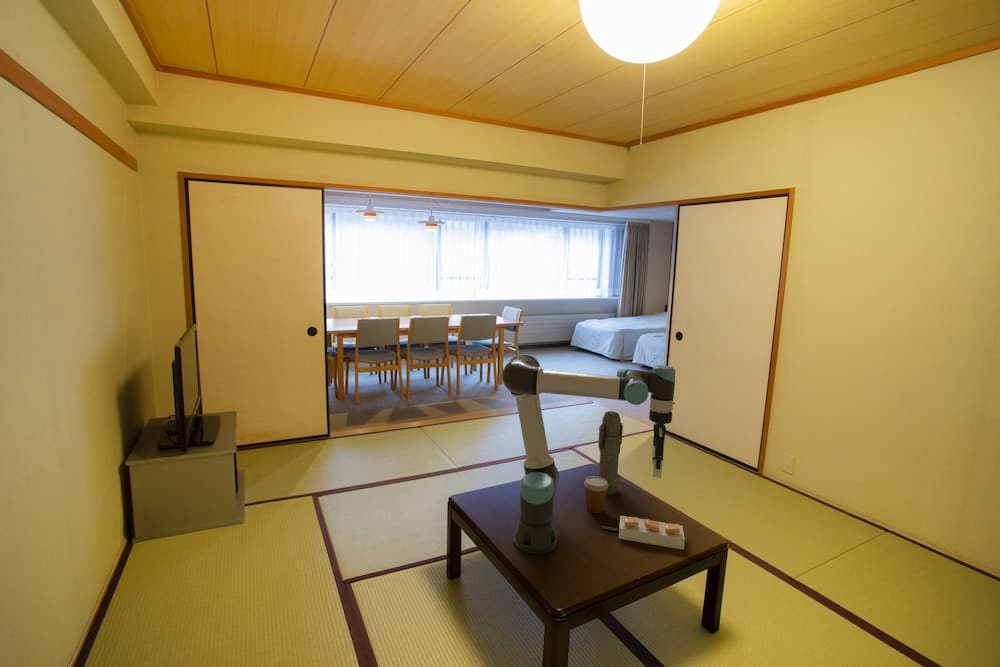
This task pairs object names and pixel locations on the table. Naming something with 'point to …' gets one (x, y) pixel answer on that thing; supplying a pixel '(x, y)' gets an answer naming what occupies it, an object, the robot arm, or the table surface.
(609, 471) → the stone tower
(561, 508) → the table surface
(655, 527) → the orange block
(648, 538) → the power strip
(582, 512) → the table surface
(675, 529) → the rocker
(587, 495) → the disposable coffee cup
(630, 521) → the orange block
